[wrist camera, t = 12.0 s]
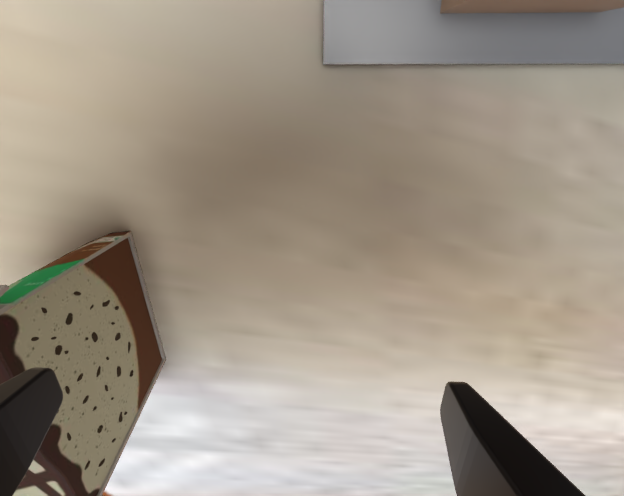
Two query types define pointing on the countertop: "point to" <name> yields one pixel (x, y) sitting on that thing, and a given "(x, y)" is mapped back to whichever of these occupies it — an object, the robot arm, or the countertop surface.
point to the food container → (83, 359)
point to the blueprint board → (473, 32)
